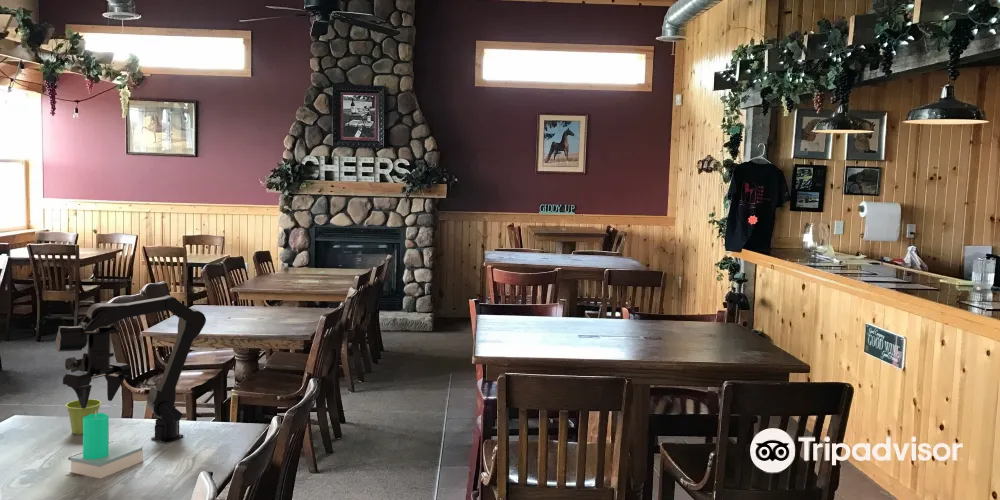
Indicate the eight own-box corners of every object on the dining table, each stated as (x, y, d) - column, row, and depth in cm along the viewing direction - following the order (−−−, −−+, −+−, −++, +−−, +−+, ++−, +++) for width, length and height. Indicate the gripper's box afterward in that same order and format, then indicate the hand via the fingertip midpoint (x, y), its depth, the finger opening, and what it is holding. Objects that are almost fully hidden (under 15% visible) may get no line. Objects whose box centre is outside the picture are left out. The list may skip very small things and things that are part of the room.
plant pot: (108, 429, 234) (108, 401, 234) (82, 438, 226) (82, 409, 225) (85, 425, 237) (84, 397, 237) (58, 433, 229) (58, 405, 228)
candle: (89, 461, 198) (89, 415, 197) (78, 455, 202) (78, 410, 201) (112, 455, 203) (113, 410, 202) (101, 449, 206) (101, 405, 205)
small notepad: (114, 455, 213) (114, 444, 213) (142, 461, 210) (142, 450, 210) (71, 472, 200) (71, 461, 200) (100, 478, 197) (100, 467, 197)
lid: (111, 443, 213) (111, 441, 213) (142, 450, 210) (142, 447, 210) (68, 460, 200) (68, 457, 200) (99, 467, 197) (99, 463, 196)
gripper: (102, 340, 225) (100, 393, 226) (47, 351, 208) (45, 408, 209) (133, 345, 222) (131, 398, 223) (80, 356, 204) (78, 414, 205)
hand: (97, 404), depth 215 cm, fingers open, 9 cm apart
